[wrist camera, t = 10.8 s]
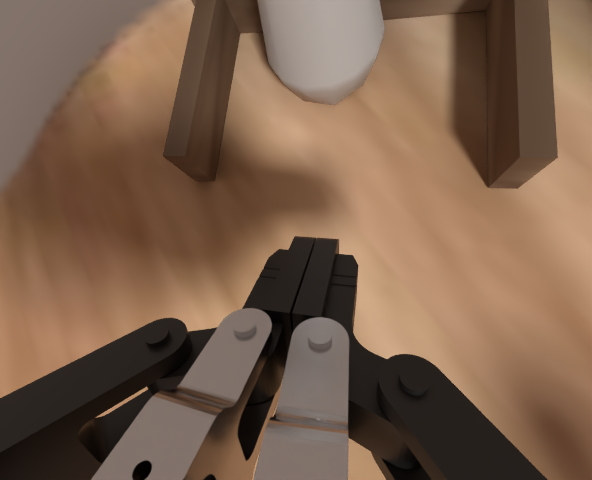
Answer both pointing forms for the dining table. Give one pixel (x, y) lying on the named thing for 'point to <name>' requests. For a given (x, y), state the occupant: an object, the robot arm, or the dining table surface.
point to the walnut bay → (394, 4)
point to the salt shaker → (322, 44)
